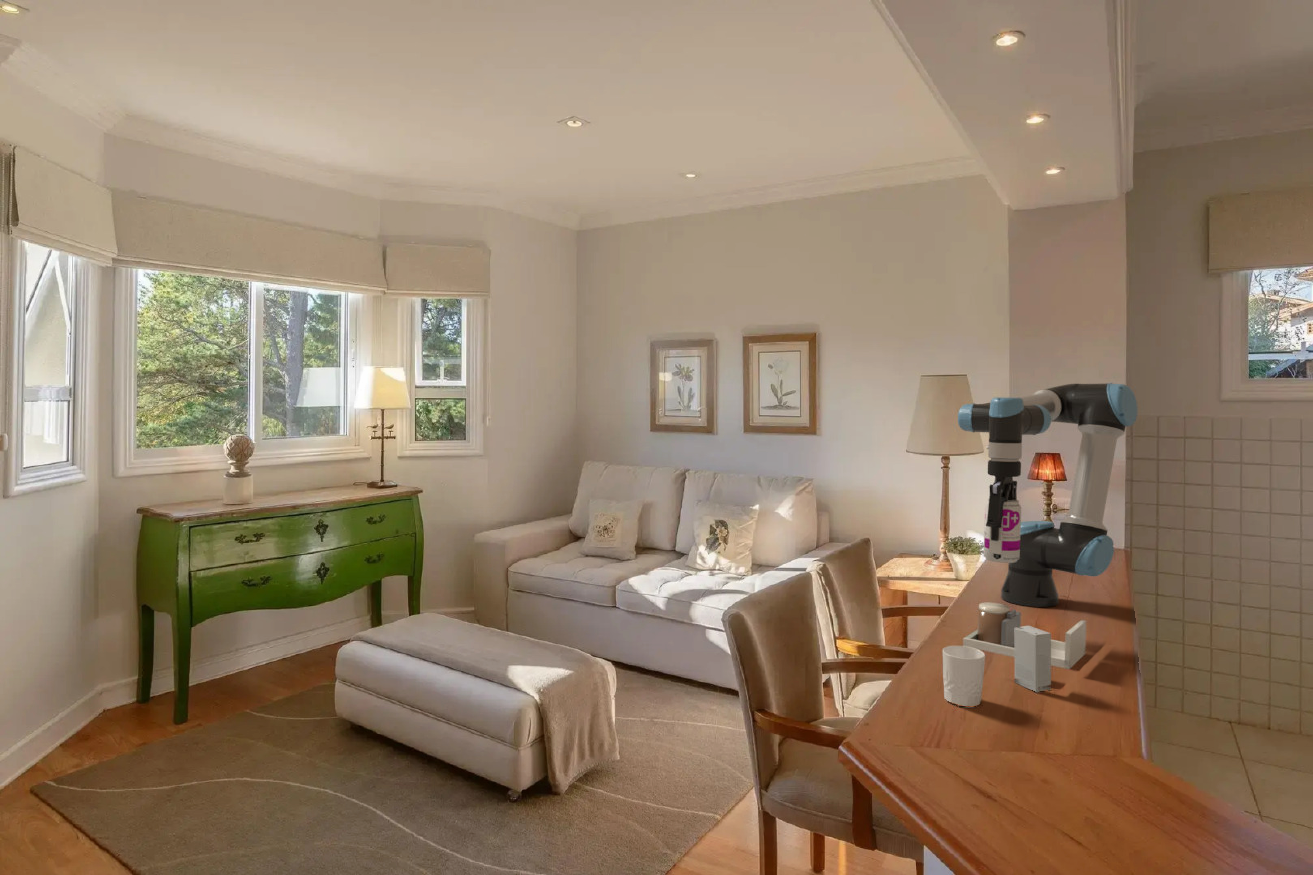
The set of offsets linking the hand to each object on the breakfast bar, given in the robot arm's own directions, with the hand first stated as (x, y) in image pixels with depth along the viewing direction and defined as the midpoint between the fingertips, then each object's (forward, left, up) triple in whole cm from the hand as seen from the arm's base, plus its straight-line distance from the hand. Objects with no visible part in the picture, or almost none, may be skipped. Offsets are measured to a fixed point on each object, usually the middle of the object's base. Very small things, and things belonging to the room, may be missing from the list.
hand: (1001, 550), depth 195 cm
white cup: (+46, +8, -22) cm, 52 cm away
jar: (+10, +2, -20) cm, 23 cm away
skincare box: (+29, +16, -22) cm, 40 cm away
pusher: (+10, +6, -20) cm, 23 cm away
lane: (+10, +9, -22) cm, 26 cm away
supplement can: (0, 0, -2) cm, 2 cm away
